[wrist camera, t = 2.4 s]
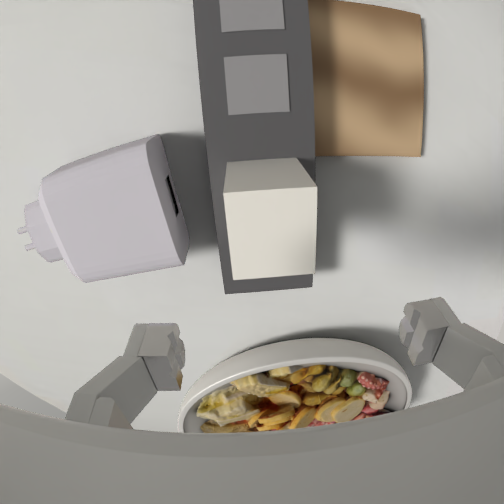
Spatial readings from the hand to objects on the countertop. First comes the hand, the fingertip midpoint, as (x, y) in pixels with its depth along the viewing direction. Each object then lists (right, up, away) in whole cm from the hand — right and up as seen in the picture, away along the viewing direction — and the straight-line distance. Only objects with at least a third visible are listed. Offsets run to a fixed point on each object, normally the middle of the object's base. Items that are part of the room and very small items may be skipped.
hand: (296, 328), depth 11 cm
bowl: (+4, -17, +29) cm, 34 cm away
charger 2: (-1, +7, +12) cm, 14 cm away
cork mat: (+7, +15, +9) cm, 19 cm away
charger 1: (-15, +6, +14) cm, 21 cm away
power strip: (-1, +13, +10) cm, 17 cm away
